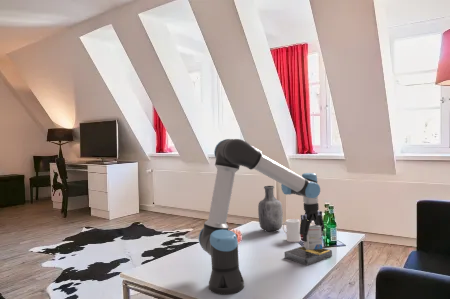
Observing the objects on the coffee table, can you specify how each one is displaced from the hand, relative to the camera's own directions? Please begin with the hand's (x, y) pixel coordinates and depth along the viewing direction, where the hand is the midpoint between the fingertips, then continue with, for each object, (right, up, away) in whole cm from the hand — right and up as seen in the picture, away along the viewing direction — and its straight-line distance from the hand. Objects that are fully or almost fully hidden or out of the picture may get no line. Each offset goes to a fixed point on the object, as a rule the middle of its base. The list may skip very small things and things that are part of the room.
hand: (313, 245), depth 180 cm
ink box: (0, -2, 0) cm, 2 cm away
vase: (-15, -5, +50) cm, 52 cm away
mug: (-6, -5, +29) cm, 30 cm away
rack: (-3, -6, -2) cm, 7 cm away
